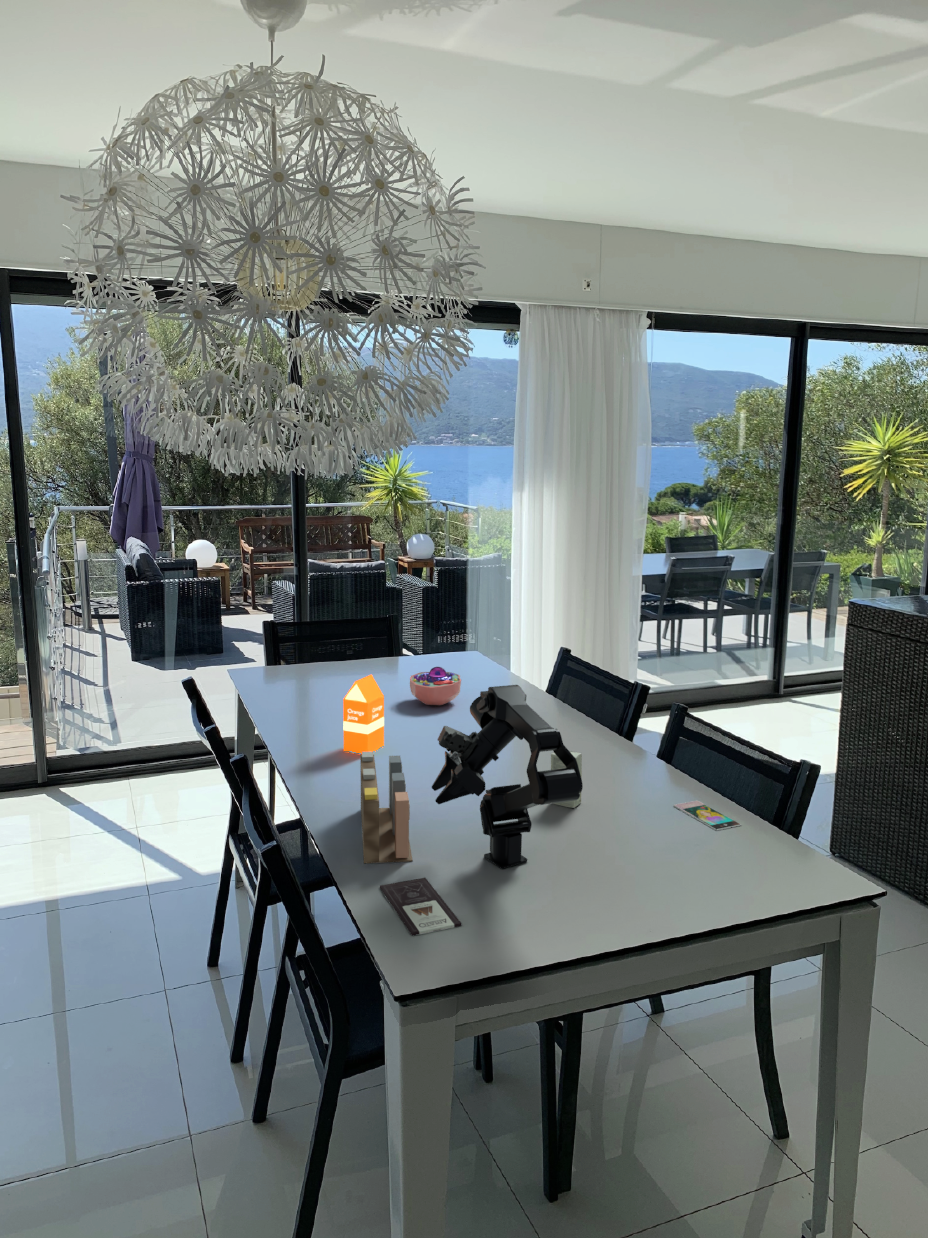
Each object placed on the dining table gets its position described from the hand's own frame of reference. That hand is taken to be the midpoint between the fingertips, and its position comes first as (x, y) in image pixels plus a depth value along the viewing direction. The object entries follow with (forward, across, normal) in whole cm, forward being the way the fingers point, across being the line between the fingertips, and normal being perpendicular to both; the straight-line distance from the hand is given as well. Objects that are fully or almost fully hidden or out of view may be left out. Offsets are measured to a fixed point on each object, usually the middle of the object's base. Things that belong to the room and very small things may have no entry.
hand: (434, 795), depth 180 cm
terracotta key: (+14, 0, +4) cm, 14 cm away
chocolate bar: (+13, +20, +6) cm, 25 cm away
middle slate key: (+13, -11, +4) cm, 17 cm away
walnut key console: (+15, -11, +2) cm, 19 cm away
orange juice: (+18, -67, 0) cm, 69 cm away
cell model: (0, -110, +17) cm, 111 cm away
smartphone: (-35, -14, +54) cm, 66 cm away
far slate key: (+13, -22, +4) cm, 26 cm away
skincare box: (-14, -24, +32) cm, 43 cm away
